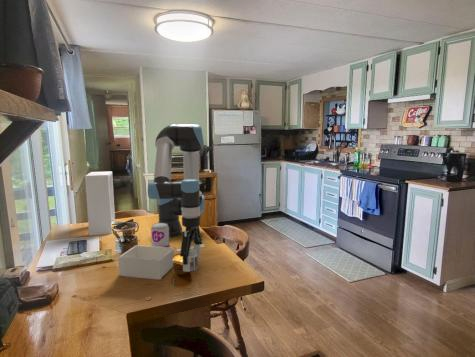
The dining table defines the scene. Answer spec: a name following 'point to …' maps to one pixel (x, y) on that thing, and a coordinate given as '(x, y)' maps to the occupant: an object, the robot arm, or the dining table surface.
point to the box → (100, 202)
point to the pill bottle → (193, 260)
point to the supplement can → (160, 235)
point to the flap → (133, 257)
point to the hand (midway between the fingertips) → (192, 264)
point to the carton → (146, 262)
